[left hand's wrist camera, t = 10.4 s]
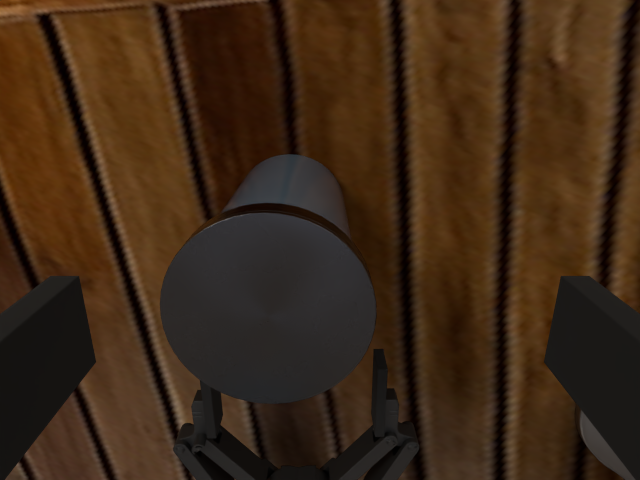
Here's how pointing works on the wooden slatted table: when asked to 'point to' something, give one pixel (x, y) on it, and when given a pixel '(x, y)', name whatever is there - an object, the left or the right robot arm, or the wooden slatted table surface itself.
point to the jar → (294, 188)
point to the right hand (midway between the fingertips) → (294, 359)
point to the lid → (269, 303)
